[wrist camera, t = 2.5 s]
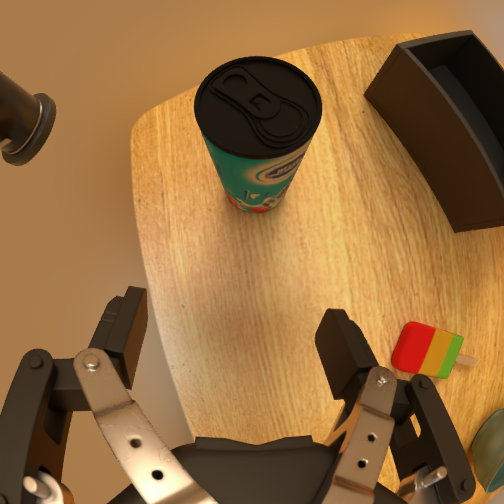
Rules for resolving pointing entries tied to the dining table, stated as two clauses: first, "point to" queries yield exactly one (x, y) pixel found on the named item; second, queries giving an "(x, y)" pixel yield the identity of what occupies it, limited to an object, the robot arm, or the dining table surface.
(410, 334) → the popsicle
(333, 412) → the dining table surface
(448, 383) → the dining table surface
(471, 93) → the bin
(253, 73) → the beverage can
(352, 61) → the dining table surface
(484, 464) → the flower pot
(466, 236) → the dining table surface
